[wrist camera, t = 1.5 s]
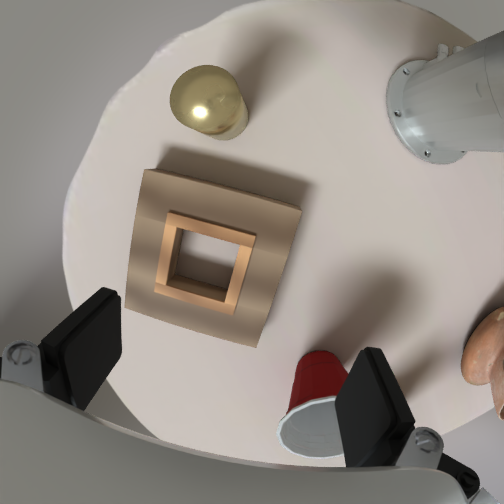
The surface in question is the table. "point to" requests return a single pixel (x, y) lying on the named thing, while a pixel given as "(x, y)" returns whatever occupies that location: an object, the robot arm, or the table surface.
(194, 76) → the brass peg
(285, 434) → the plastic cup
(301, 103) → the table surface
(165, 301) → the walnut plate
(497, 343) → the ceramic jug
